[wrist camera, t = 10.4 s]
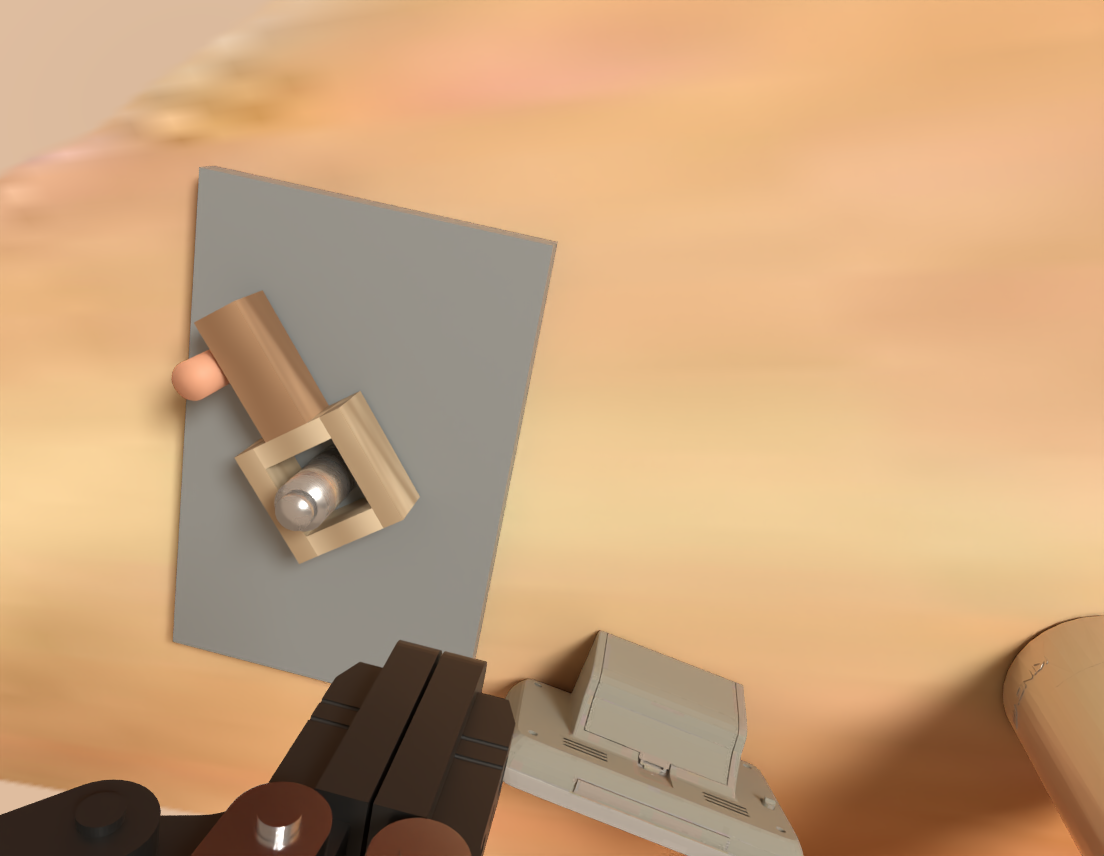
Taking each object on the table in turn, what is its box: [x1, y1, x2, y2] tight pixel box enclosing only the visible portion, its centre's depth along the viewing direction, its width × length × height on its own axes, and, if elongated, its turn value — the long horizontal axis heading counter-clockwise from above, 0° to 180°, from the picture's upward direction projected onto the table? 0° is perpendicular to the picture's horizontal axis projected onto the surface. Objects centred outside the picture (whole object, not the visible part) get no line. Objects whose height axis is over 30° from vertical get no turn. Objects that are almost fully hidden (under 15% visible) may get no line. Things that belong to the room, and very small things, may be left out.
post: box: [274, 444, 357, 531], centre depth 45 cm, size 3×3×6 cm
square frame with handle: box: [194, 290, 420, 564], centre depth 45 cm, size 6×13×3 cm, turn 27°
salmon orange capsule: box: [172, 349, 230, 401], centre depth 45 cm, size 2×2×4 cm
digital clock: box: [503, 631, 803, 856], centre depth 47 cm, size 16×9×11 cm, turn 59°
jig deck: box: [173, 166, 557, 683], centre depth 48 cm, size 18×28×2 cm, turn 169°
